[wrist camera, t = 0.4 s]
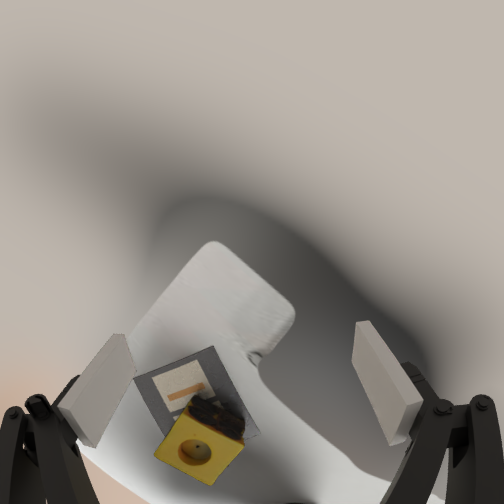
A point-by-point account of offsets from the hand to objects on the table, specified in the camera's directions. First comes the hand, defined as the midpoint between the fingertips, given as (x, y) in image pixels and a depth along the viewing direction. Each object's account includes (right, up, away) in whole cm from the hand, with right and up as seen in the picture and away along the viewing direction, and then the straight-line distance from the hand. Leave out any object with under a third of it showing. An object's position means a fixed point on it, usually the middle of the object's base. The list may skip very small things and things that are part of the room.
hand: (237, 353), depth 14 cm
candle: (-7, -25, +26) cm, 37 cm away
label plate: (-9, -21, +27) cm, 35 cm away
